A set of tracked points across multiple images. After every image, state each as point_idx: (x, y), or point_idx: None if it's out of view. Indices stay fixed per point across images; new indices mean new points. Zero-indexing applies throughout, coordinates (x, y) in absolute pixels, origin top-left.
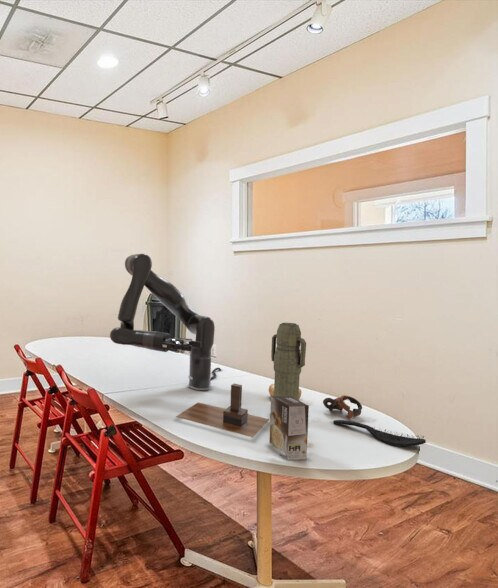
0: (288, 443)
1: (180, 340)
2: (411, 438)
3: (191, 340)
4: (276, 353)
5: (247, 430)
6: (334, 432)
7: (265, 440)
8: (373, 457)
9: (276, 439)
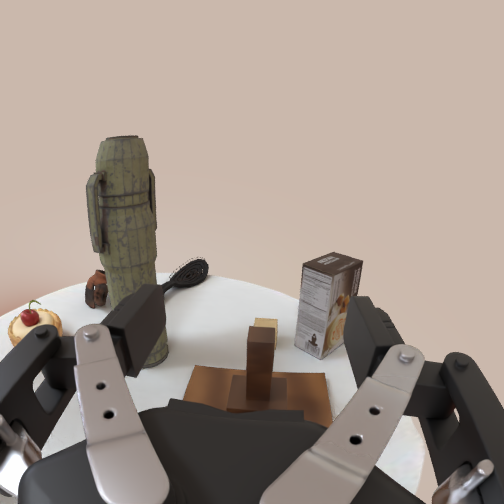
0: None
1: (130, 424)
2: (185, 267)
3: (105, 326)
4: (129, 221)
5: (297, 385)
6: (187, 310)
7: (297, 368)
8: (254, 291)
9: (337, 333)
